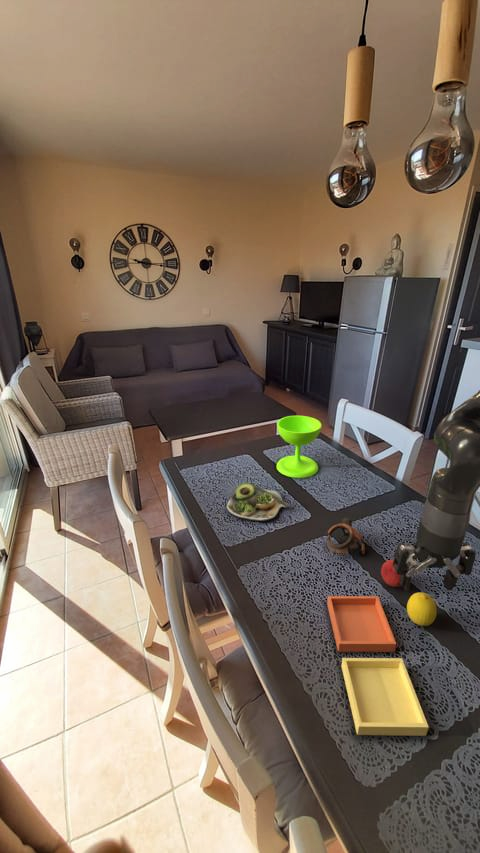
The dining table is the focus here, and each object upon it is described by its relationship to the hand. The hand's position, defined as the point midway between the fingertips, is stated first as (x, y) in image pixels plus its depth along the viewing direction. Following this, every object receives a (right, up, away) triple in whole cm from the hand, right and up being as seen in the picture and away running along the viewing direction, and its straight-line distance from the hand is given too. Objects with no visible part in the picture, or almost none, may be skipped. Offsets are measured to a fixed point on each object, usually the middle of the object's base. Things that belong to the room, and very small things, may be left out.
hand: (426, 586), depth 73 cm
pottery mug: (-9, -1, +26) cm, 27 cm away
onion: (-1, -6, +14) cm, 15 cm away
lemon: (+1, -10, +4) cm, 11 cm away
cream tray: (-13, -16, -9) cm, 22 cm away
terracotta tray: (-12, -10, +4) cm, 17 cm away
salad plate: (-33, +7, +44) cm, 56 cm away
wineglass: (-16, +17, +65) cm, 69 cm away
